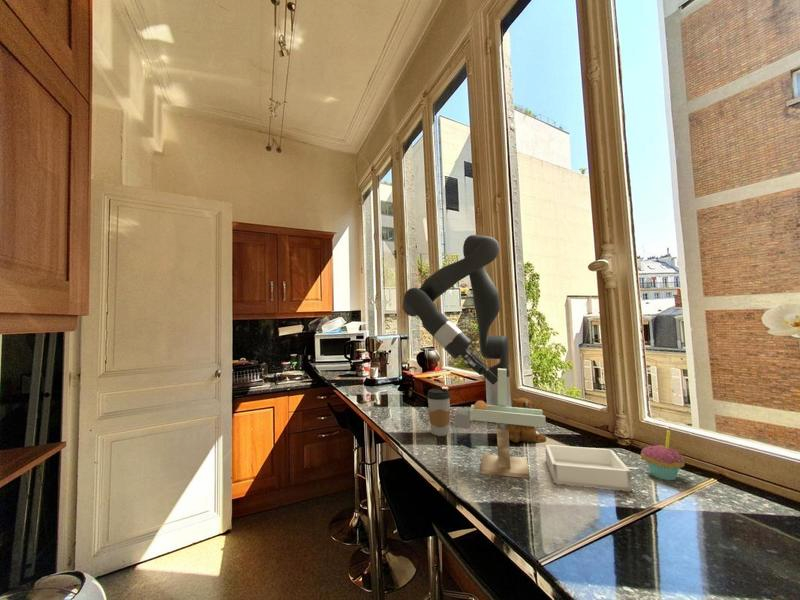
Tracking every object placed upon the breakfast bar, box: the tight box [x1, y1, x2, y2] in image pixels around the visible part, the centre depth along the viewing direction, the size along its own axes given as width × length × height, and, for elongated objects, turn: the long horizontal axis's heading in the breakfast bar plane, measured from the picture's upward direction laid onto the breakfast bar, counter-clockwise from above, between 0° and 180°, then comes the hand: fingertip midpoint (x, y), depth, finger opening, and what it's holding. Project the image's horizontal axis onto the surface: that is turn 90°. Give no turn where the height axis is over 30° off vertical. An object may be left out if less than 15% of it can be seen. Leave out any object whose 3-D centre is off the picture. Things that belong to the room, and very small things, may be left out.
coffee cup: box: [426, 387, 451, 437], centre depth 117 cm, size 8×8×15 cm
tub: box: [544, 444, 633, 492], centre depth 83 cm, size 16×13×4 cm
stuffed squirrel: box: [508, 397, 547, 444], centre depth 109 cm, size 10×14×13 cm
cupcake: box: [640, 427, 685, 481], centre depth 81 cm, size 9×8×12 cm
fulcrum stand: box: [480, 423, 531, 479], centre depth 89 cm, size 12×10×11 cm
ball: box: [473, 400, 488, 410], centre depth 91 cm, size 4×4×4 cm
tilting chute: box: [454, 368, 547, 430], centre depth 91 cm, size 23×10×16 cm, turn 73°
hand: (495, 382), depth 94 cm, fingers closed
